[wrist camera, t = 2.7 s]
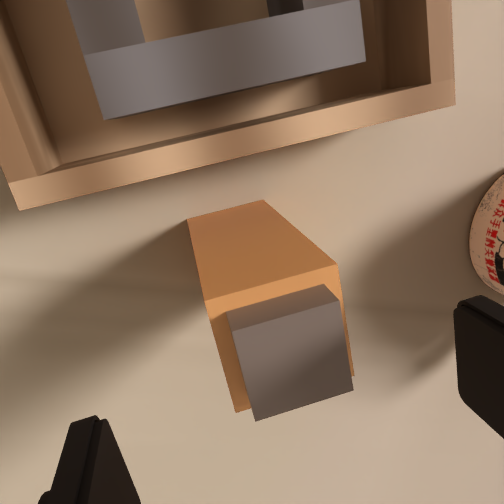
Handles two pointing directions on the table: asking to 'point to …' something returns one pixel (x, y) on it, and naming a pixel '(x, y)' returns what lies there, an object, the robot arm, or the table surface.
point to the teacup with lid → (489, 237)
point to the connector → (272, 309)
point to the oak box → (202, 82)
